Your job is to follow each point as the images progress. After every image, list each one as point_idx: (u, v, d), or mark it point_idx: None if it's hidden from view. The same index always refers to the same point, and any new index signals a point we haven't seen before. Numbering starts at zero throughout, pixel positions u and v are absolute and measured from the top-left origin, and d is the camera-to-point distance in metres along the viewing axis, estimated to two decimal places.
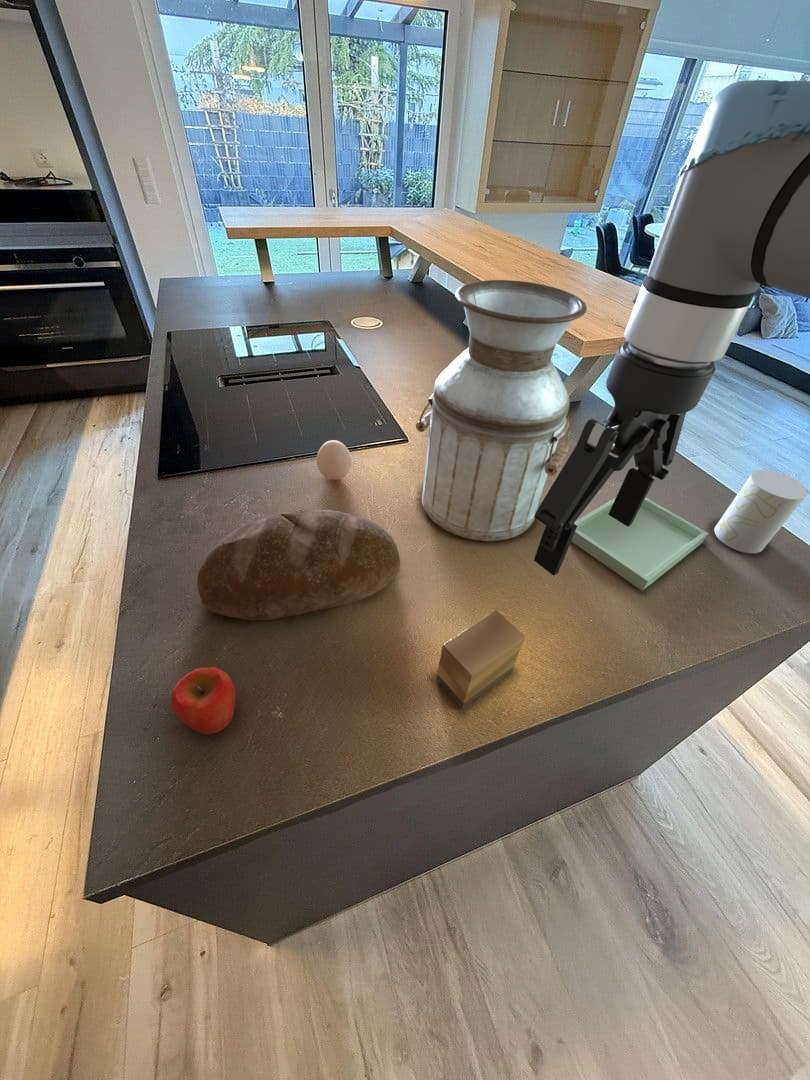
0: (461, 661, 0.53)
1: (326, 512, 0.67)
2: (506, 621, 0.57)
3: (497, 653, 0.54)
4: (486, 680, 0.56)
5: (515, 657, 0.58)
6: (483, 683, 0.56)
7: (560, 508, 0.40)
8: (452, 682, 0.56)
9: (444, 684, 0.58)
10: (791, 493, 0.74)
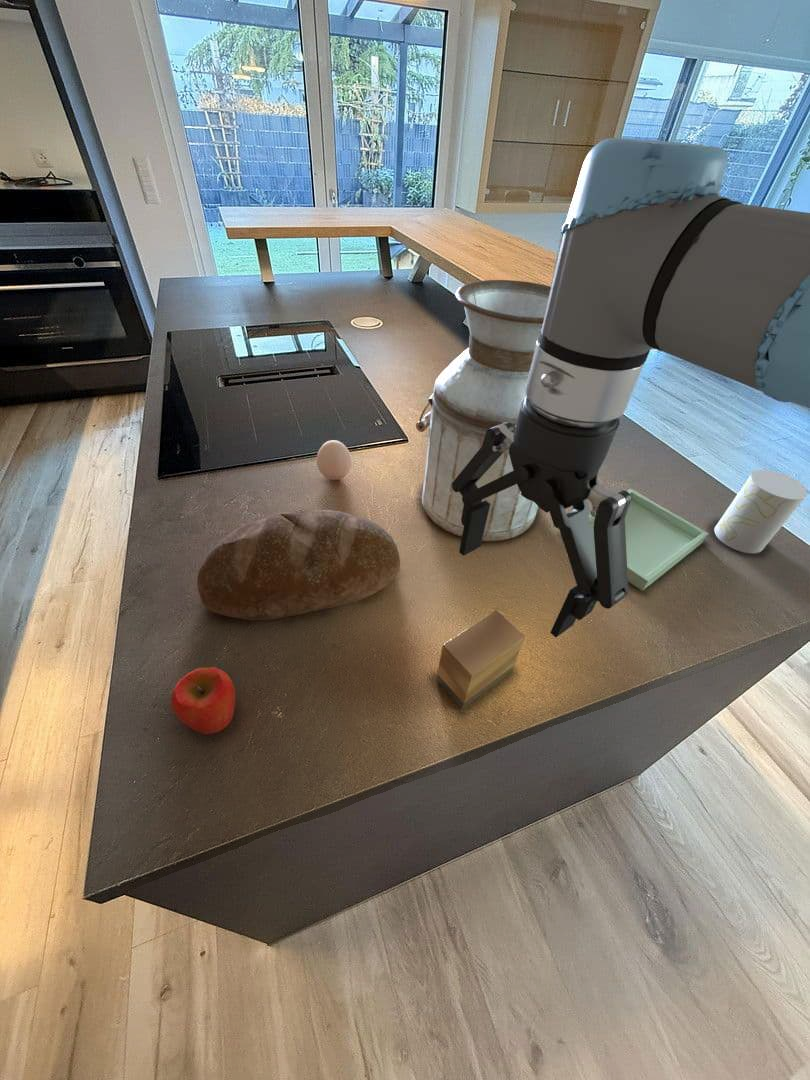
0: (461, 661, 0.53)
1: (326, 512, 0.67)
2: (506, 621, 0.57)
3: (497, 653, 0.54)
4: (486, 680, 0.56)
5: (515, 657, 0.58)
6: (483, 683, 0.56)
7: (623, 579, 0.39)
8: (452, 682, 0.56)
9: (444, 684, 0.58)
10: (791, 493, 0.74)
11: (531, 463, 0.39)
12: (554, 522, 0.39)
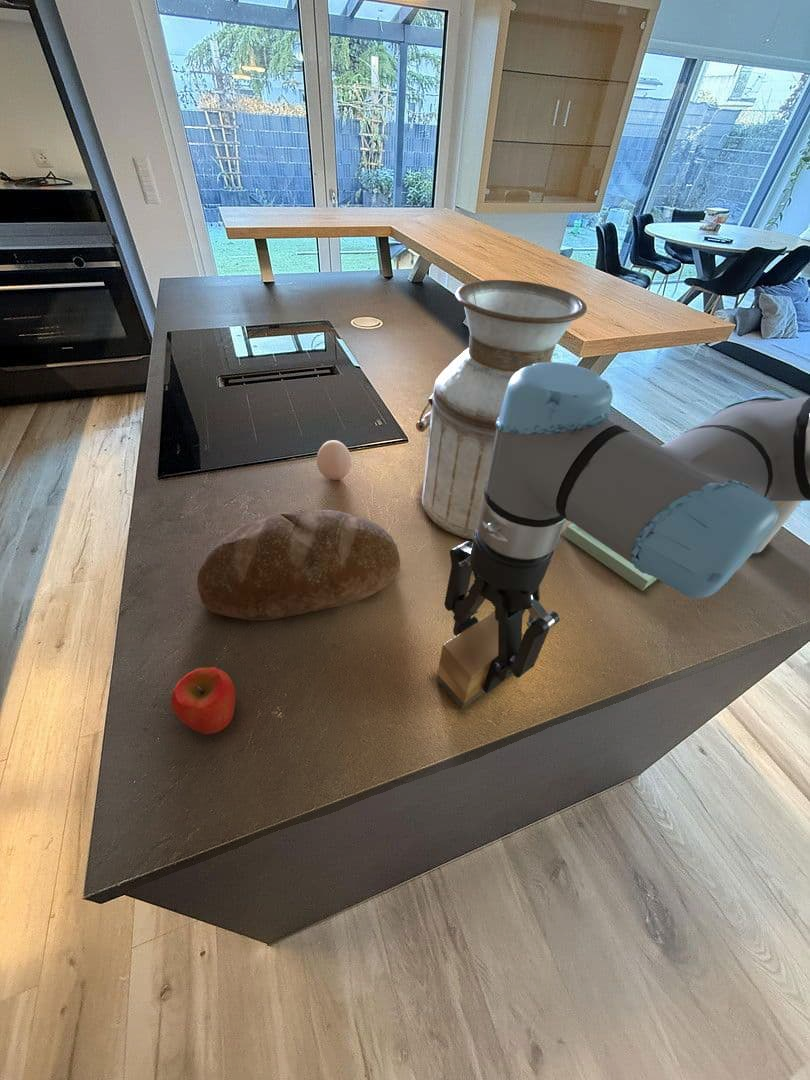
0: (461, 661, 0.53)
1: (326, 512, 0.67)
2: None
3: (497, 653, 0.54)
4: None
5: None
6: (483, 683, 0.56)
7: (534, 660, 0.50)
8: (452, 682, 0.56)
9: (444, 684, 0.58)
10: None
11: None
12: (496, 617, 0.48)
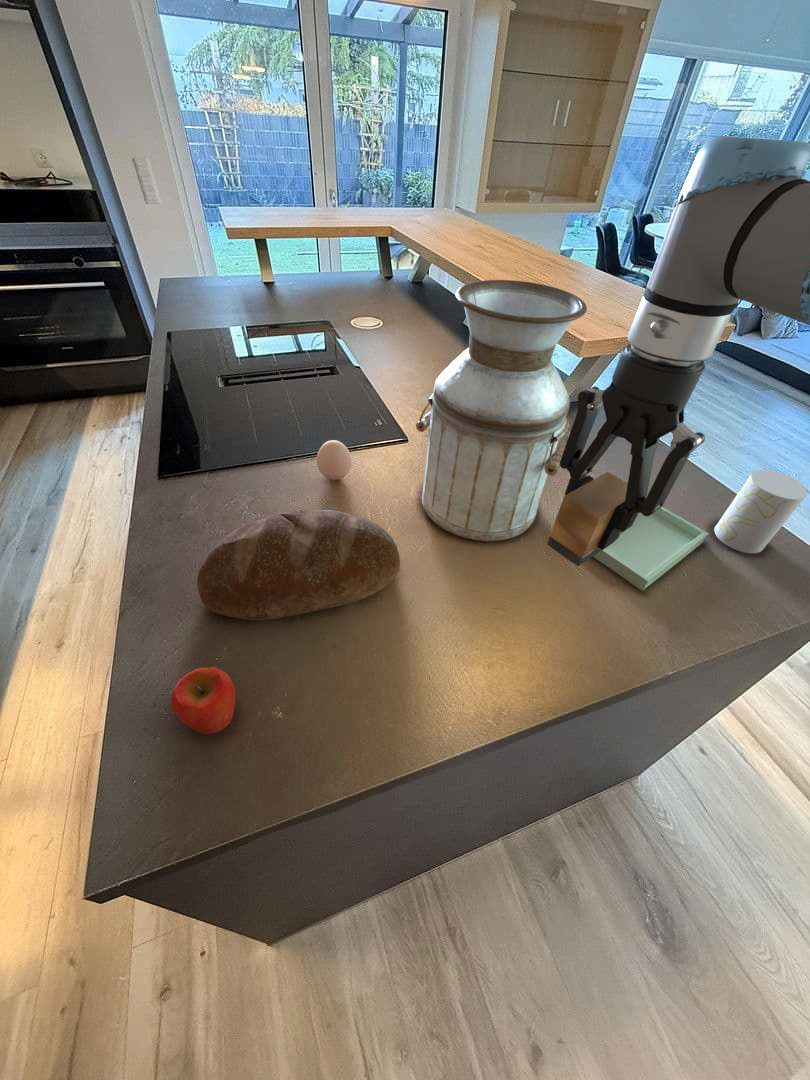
0: (586, 508, 0.53)
1: (326, 512, 0.67)
2: (620, 480, 0.58)
3: (618, 503, 0.54)
4: None
5: None
6: (600, 538, 0.57)
7: (665, 497, 0.50)
8: (570, 538, 0.57)
9: (558, 545, 0.59)
10: (791, 493, 0.74)
11: (624, 404, 0.48)
12: (632, 450, 0.49)
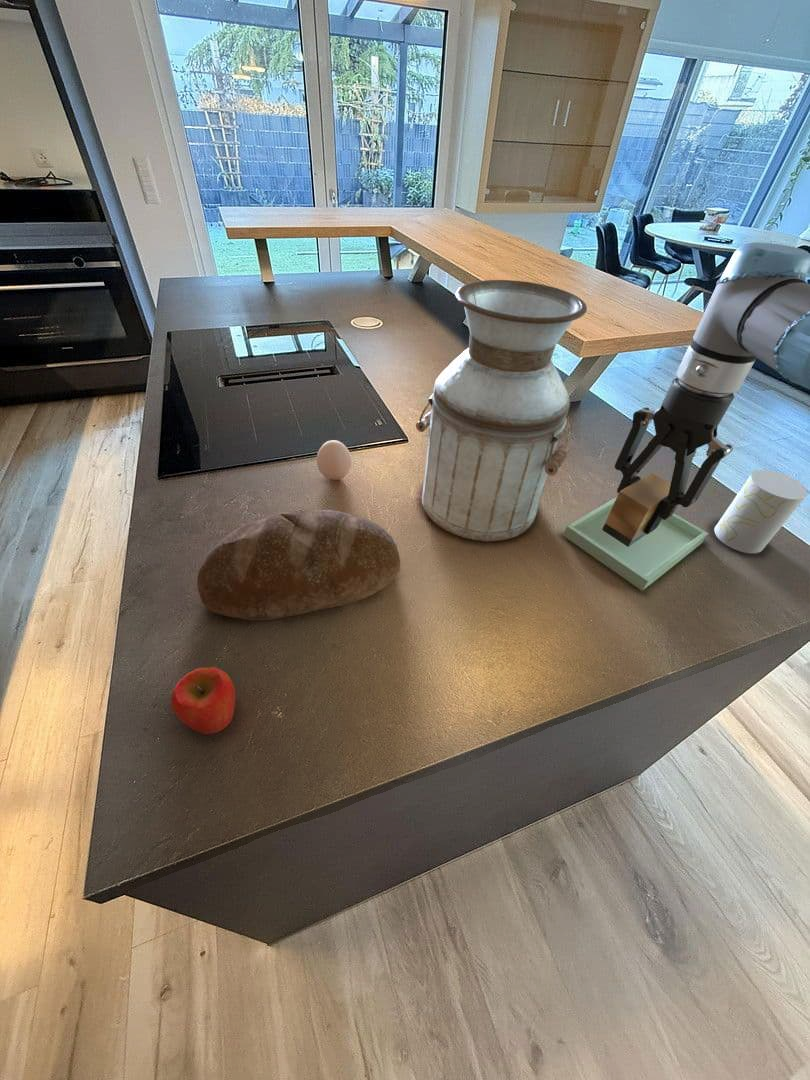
0: (638, 500, 0.69)
1: (326, 512, 0.67)
2: (662, 479, 0.74)
3: (662, 497, 0.70)
4: None
5: None
6: (646, 525, 0.72)
7: (700, 492, 0.66)
8: (622, 524, 0.72)
9: (612, 530, 0.74)
10: (791, 493, 0.74)
11: (671, 422, 0.64)
12: (676, 456, 0.65)
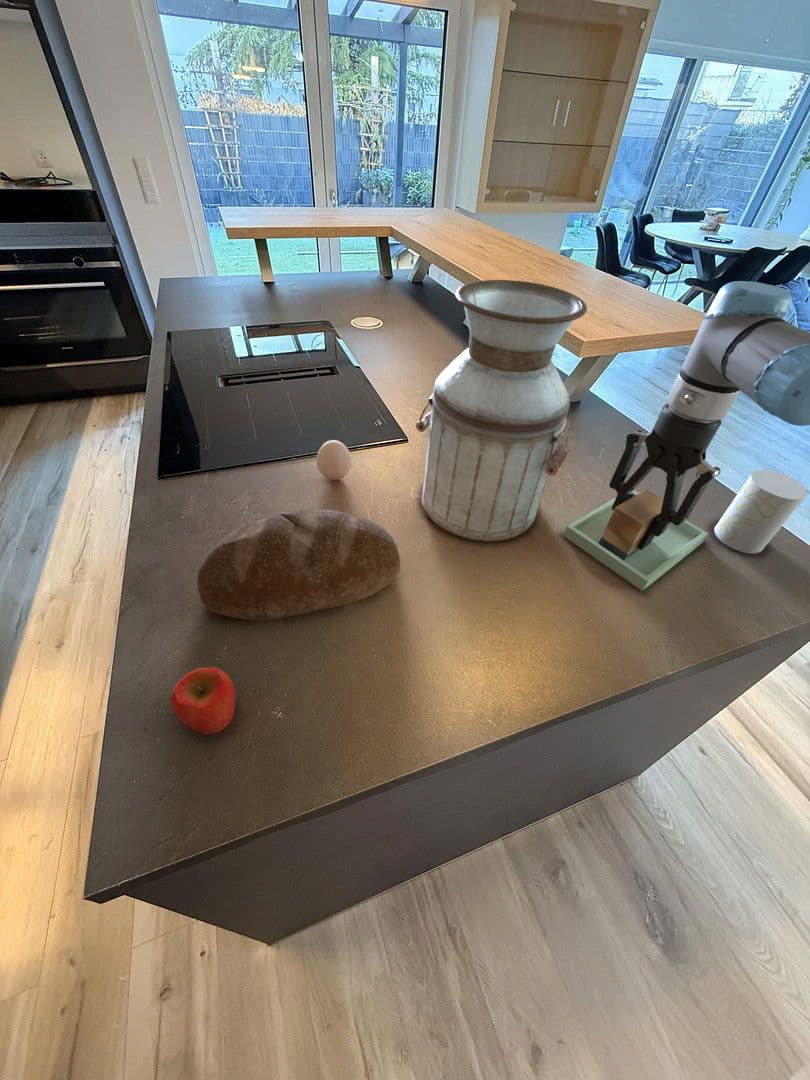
0: (632, 516, 0.72)
1: (326, 512, 0.67)
2: (656, 495, 0.77)
3: (656, 513, 0.73)
4: None
5: None
6: (641, 539, 0.75)
7: (690, 511, 0.69)
8: (618, 538, 0.75)
9: (608, 544, 0.77)
10: (791, 493, 0.74)
11: (662, 445, 0.67)
12: (667, 477, 0.68)
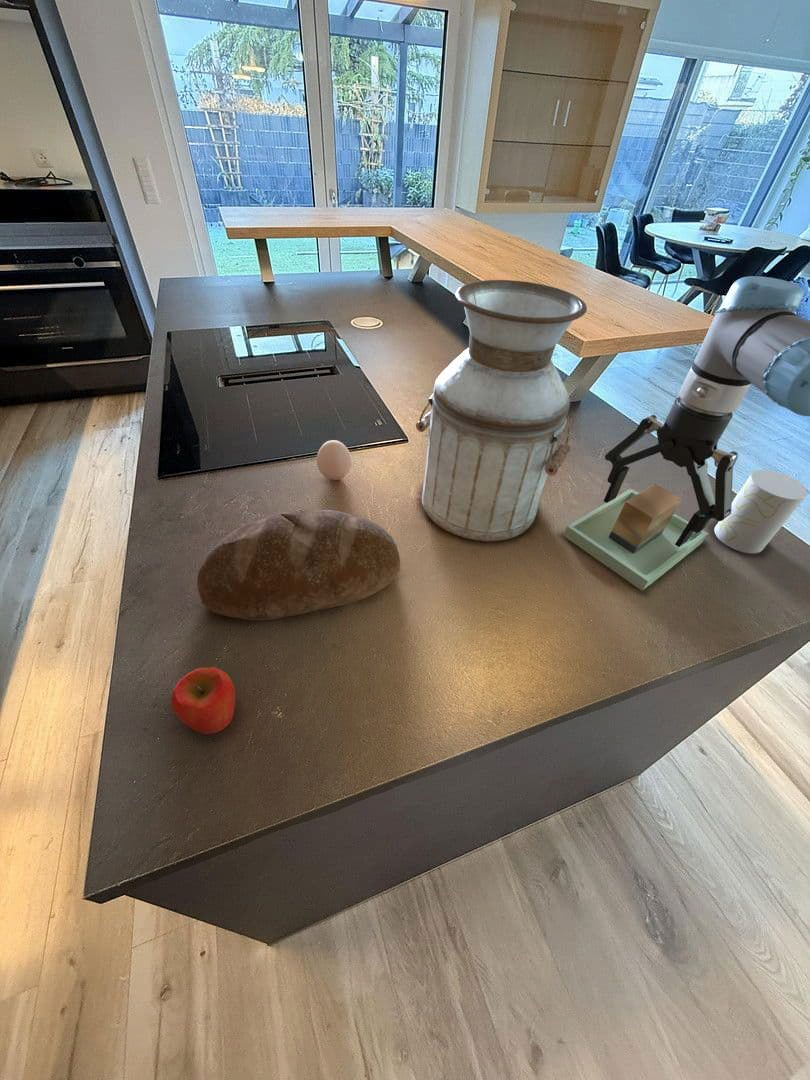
0: (643, 510, 0.74)
1: (326, 512, 0.67)
2: (665, 490, 0.78)
3: (665, 507, 0.75)
4: (652, 531, 0.77)
5: (669, 518, 0.79)
6: (650, 533, 0.77)
7: (729, 503, 0.67)
8: (628, 532, 0.77)
9: (618, 538, 0.79)
10: (791, 493, 0.74)
11: (674, 438, 0.68)
12: (688, 472, 0.68)
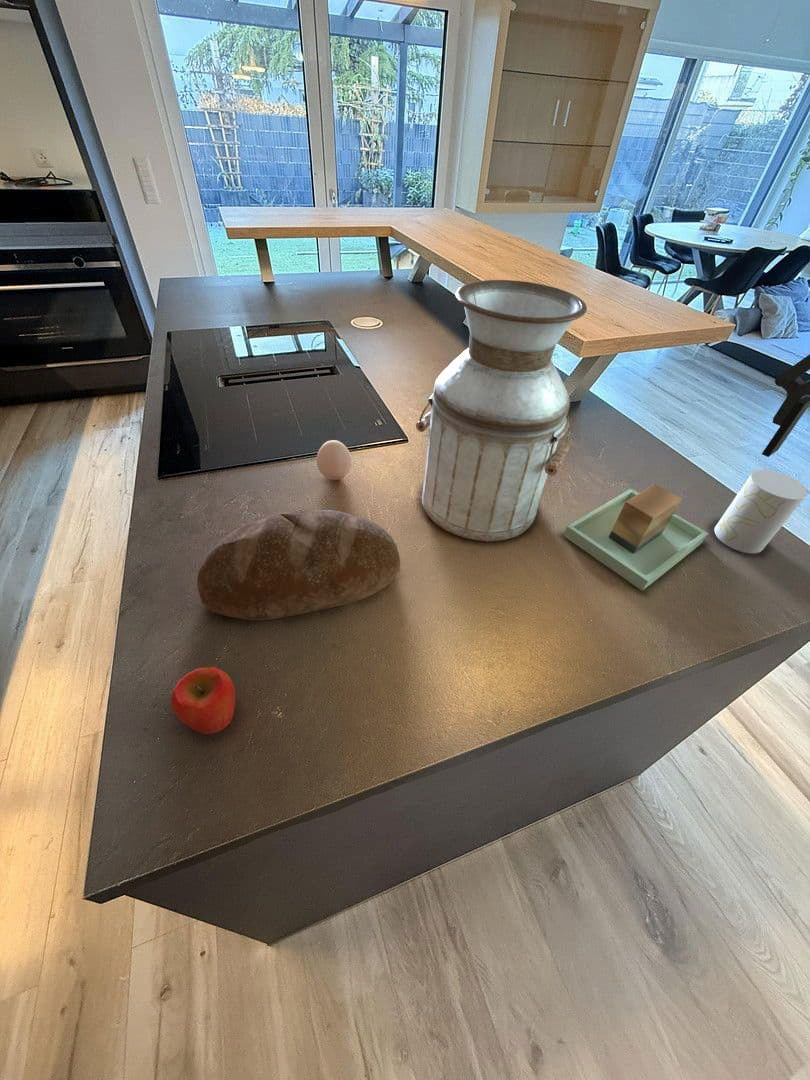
0: (643, 510, 0.74)
1: (326, 512, 0.67)
2: (665, 490, 0.78)
3: (665, 507, 0.75)
4: (652, 531, 0.77)
5: (669, 518, 0.79)
6: (650, 533, 0.77)
7: None
8: (628, 532, 0.77)
9: (618, 538, 0.79)
10: (791, 493, 0.74)
11: None
12: None
